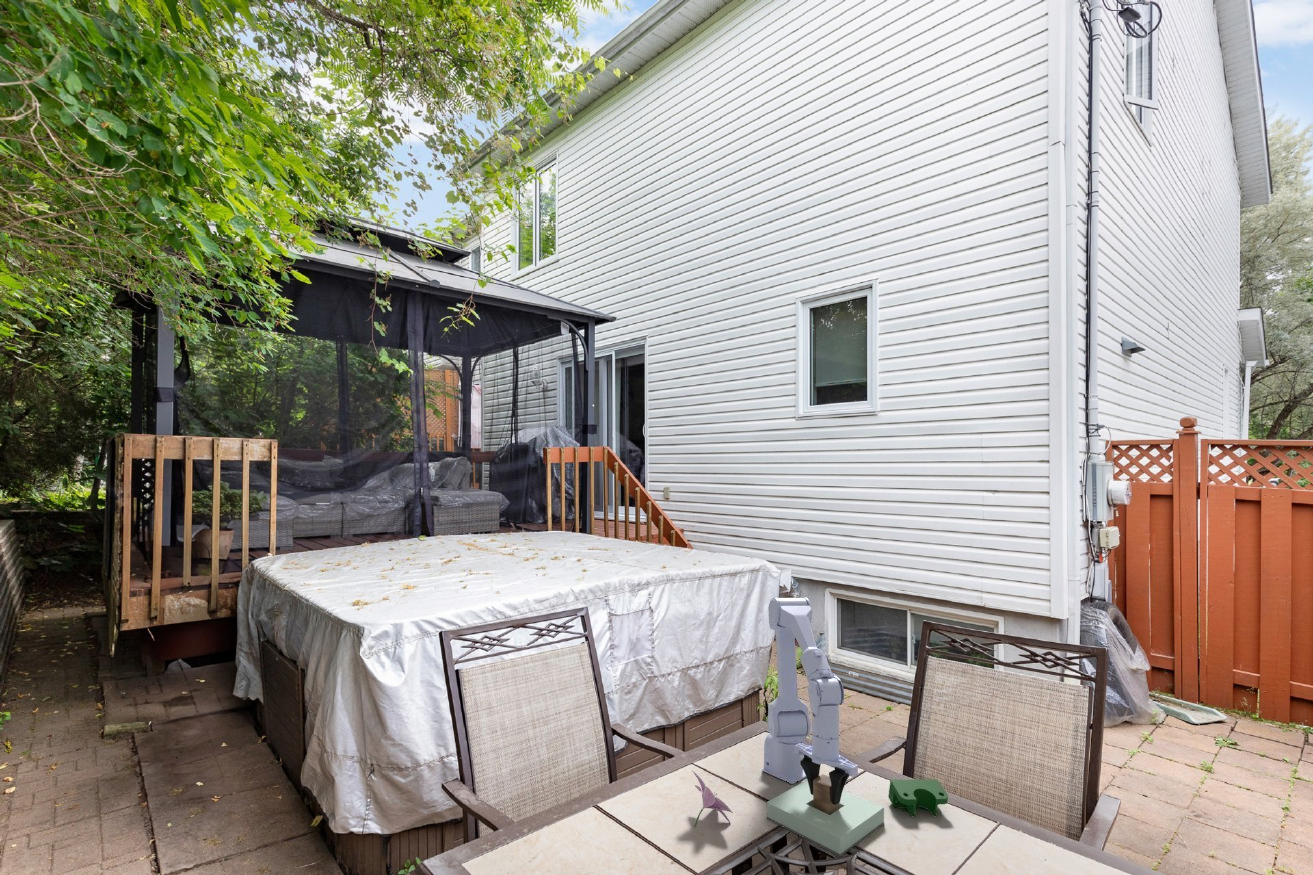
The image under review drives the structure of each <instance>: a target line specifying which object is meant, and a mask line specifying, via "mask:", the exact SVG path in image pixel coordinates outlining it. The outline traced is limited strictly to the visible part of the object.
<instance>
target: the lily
mask: <svg viewBox="0 0 1313 875" xmlns="http://www.w3.org/2000/svg"><path fill="white" fill-rule="evenodd" d="M691 772H692V773H693V775H694V776H695V777H696V778H697V781H698V782H699V785H700V786H699V785H694V787H695V788H696V789H697V791H699V792H700V793H701V798H702V808H701V810H700V811H699V813H698V815H697V817H696V820H695V823H694V826H693V827H696V826H697V823H698V820H699V818H700V816H701V814H702V812H703V810H704V809H711V810H715V811H717V812H719V813H720V814H721V815H722V816H723V818H725V820H726V821H727V822H728V823H729V824H730V825H731V822H730V820H729V818H728V816H727V814H726V813H725V812H728V813H732V814H734V813H733V811H732V810H731V808H730V807H729V806H728V805H727V804H726V803H725V802H724V801H723V800H721V799H720V798H718V796H717V795H718V793H716V791H714V792H713V791H712V790H711V789H710V788H709V787H708V786H707V785H706V783H705V782H704V781H703V779H702V778H701V777H700V776H699V775H698V774H697V773H696V772H695V771H694V770H691Z"/></svg>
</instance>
